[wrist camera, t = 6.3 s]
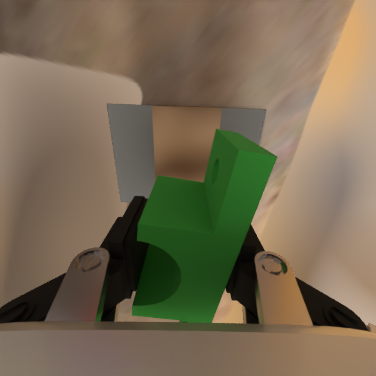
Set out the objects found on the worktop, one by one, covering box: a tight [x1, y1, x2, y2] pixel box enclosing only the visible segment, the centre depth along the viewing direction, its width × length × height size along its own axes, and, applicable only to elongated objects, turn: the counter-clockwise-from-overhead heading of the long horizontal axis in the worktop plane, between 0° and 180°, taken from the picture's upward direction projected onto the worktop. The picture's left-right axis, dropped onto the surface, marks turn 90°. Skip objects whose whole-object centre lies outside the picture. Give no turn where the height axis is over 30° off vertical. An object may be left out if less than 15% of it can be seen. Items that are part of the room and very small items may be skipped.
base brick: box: [152, 106, 222, 182], centre depth 23 cm, size 12×7×5 cm, turn 178°
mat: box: [107, 104, 266, 202], centre depth 26 cm, size 14×20×1 cm
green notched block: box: [132, 129, 277, 323], centre depth 9 cm, size 11×4×5 cm, turn 170°
